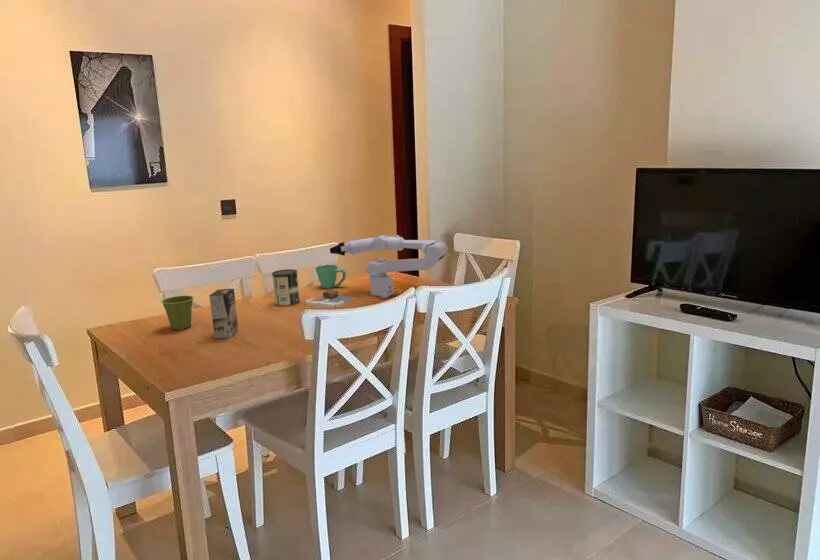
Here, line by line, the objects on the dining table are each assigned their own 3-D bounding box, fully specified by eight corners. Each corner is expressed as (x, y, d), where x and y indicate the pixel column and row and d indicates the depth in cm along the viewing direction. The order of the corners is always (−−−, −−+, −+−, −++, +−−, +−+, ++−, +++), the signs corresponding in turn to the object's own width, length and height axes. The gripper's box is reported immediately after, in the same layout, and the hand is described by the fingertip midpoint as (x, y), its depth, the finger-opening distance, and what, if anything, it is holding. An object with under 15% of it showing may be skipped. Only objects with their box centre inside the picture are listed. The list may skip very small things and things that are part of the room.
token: (338, 296, 275) (337, 290, 274) (332, 298, 271) (331, 293, 271) (329, 295, 277) (329, 289, 277) (323, 297, 274) (323, 292, 273)
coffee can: (297, 299, 276) (294, 267, 273) (302, 305, 267) (299, 272, 264) (273, 303, 273) (270, 271, 270) (277, 309, 264) (273, 275, 260)
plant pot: (202, 326, 245) (198, 298, 243) (172, 334, 238) (167, 305, 235) (190, 320, 254) (186, 293, 251) (160, 328, 246) (156, 299, 244)
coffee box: (231, 337, 229) (226, 294, 226) (214, 338, 230) (208, 295, 226) (239, 329, 238) (234, 288, 235) (222, 330, 239) (216, 289, 235)
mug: (313, 290, 291) (311, 269, 288) (324, 285, 299) (322, 264, 297) (341, 292, 285) (339, 270, 282) (352, 286, 293) (350, 265, 291)
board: (358, 299, 271) (357, 294, 271) (335, 309, 258) (335, 304, 257) (327, 296, 279) (327, 291, 279) (304, 306, 266) (304, 301, 265)
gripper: (368, 236, 280) (341, 240, 286) (352, 237, 267) (324, 242, 272) (371, 251, 280) (344, 256, 286) (355, 254, 267) (327, 258, 273)
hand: (335, 250), depth 279 cm, fingers open, 7 cm apart
